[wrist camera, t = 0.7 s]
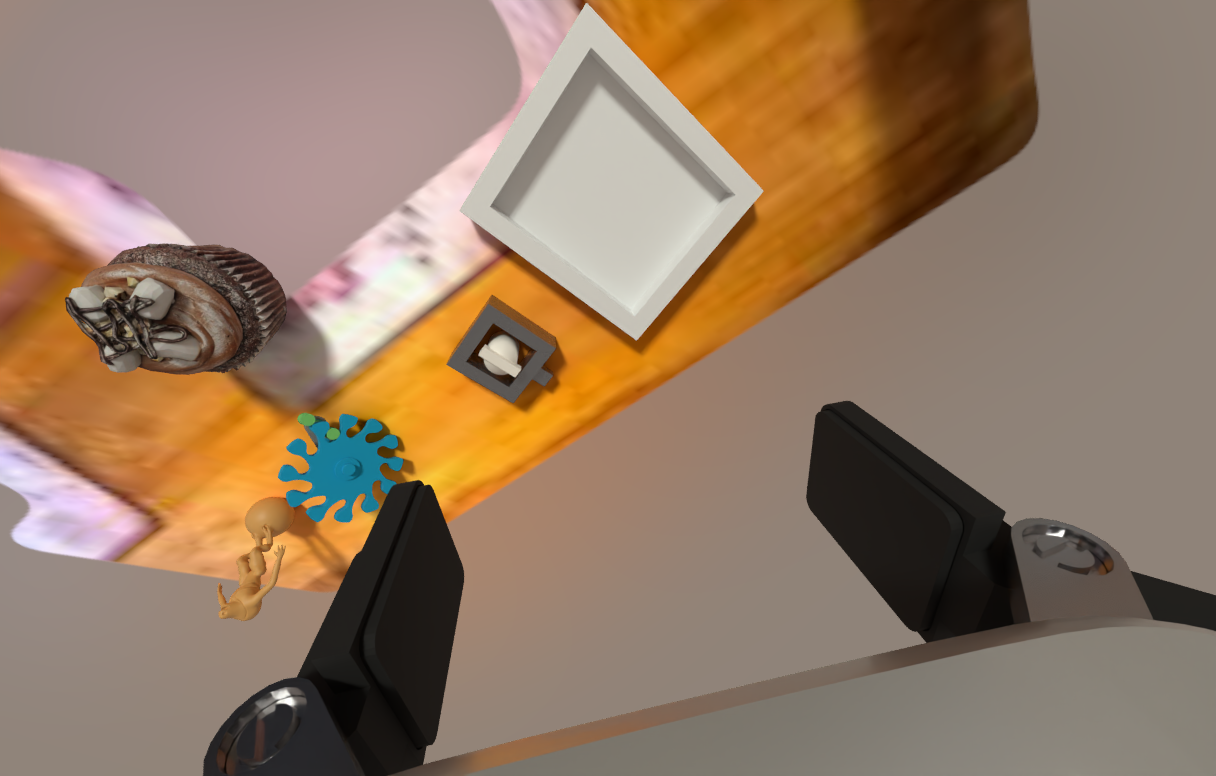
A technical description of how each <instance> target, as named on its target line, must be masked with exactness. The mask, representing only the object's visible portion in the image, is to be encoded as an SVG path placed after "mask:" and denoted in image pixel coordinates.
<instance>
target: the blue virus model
mask: <svg viewBox="0 0 1216 776" xmlns="http://www.w3.org/2000/svg"><path fill="white" fill-rule="evenodd" d="M357 421H358V418H357V417H355V416H352V415H347V414H342V415H341V416H340V418H339V422H340V428H339V430H338V429H336V428H333V427H329V423H328V422H326V420H325V419H324V418H322V417H319V416H313V415H311V414H308V413H302V414H300V415H299V416H298V422H299V423H300V424H303V425H304V428H305V430H306V431H307V433H308V434H309V436H310V438H311V439H312V441H313V442H314V444H315V445H316V447H317V448H318V450H317V452H316V453H315V454H313V455H308V454H307V452H306V449H307V445H306V443H305V442H304V441H303V440H301V439H296V440H294V441H292V442H291V443H290V444H289V445H288V446H287V447H286V448H287V450H288V451H289V452H290V453H292V454H295V455H299V456H301V457H303V458H304V459H305V460H306V461H307V463H308V464H309V470H308V471H307V472H306V473H303V474H300V473H298V472H297V470H296V469H295V468H294V467H292V466H291V465H283V466H282V467H281V469H280V472H279V475H278V478H279V479H280V480H281V481H284V482H288V481H292V480H305V481H308V482H311V483H312V489H311V490H310V491H308V492H301V491H298V490H290V491H288V492H287V493H286V499H287V502H288V504H289V505H290V506H291V507H296V506H299V505H300V504H301V503H303V502H304V501H305V500H307V499H309V498H312V497H316V496H326V501H325V502H324V503H323V504H321V505H316V506H312V507H310V508H309V509H307V511H306V514H307V515H308V516H309V517H310V518H311V519H312V520H314V521H316V522H319V521H321V520H322V519H323V518H324V516H325V513H326V512H327V510H328V509H329V508H330V507H331V506H332V505H333V504H335V503H336V502H338V501H339V500H342V499H345V501H346V503H345V505H344V507H342V508H341V509H339V510H338V511H337V512H336V513H335V515H334V519H335V520H337V521H339V522H350V521H351V520H352V517H353V515H352V506H353V504H354V502H355V500H356V498H357V497H358V496H359V495H360V494H362V493H365V495H366V497H365V499H364V501H363V502H362V505H361V508H362V510H363V511H364V512H366V513H368V512H372V511H374V510H376V509H378V508H379V504H378V502H377V501H376V500H375V499H374V497H373V494H372V485H373V483H374V482H375V481H377V480H380V482H381V486H380V488H381V490H382V491H383V492H384V493H386V494H388V493H389V491H390V489H391V487H392V486H393V485H395V484H397V483H396V482H394V481H392V480H389V479H386V478H385V477H384V476H383V475H382V473H381V472H380V466H381V465H382V464H383V463H387V465H388V466H389V468H390V469H393V470H395V471H399V470H400V469H401V467H402V464H403V459H402V458H399V457H392V458H384V457H381V456H379V455H378V454H377V449H378V448H379V447H380V446H385V447H387V448H390V449H394V448H396V447H397V446H398V441H397V438H396V436H395V435H387V436H385V437H384V438H383V439H381V440H379V441H377V442H369V443H367V442H366V441H365V437H366V435H367V434H369V433H377V432H379V431H381V430H382V428H383V427H382V425H381V424H380V423H379V422H378V421H377V420H375V419H369V420H368V421H367V422H366V424H365V426H364V428H363V429H362V430H361V431H360V432H359V433H358V434H356V435H354V436H352V437H347V435H346V431H347V430H348V429H349V428H351V427H353V426H354V425H355V424H356V423H357Z"/></svg>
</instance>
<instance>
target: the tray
mask: <svg viewBox="0 0 1216 776" xmlns="http://www.w3.org/2000/svg"><path fill="white" fill-rule="evenodd" d="M762 192H763V190H762V189H761V188H760V187H759V186H758V185H757V183H756V182H755V181H754V180H753V179H752V178H751V177H750V176H749V175H748V174H747V173H746V172H745V171H744V170H743V169H742V168H741V166H740V165H739V164H738V163H737V162H736V161H735V160H734V159H733V158H732V157H731V156H730V155H729V154H728V153H727V152H726V151H725V149H724V148H723V147H722V146H721V145H720V144H719V143H718V142H717V141H716V140H715V139H714V138H713V137H712V136H711V135H710V134H709V132H708V131H707V130H706V129H705V128H704V127H703V126H702V125H701V124H700V123H699V122H698V121H697V120H696V119H695V118H694V117H693V115H692V114H691V113H690V112H689V111H688V110H687V109H686V108H685V107H684V106H683V105H682V104H681V103H680V102H679V101H678V99H677V98H676V97H675V96H674V95H673V94H672V93H671V92H670V91H669V90H668V89H667V88H666V87H665V86H664V85H663V84H662V82H661V81H660V80H659V79H658V78H657V77H656V76H655V75H654V74H653V73H652V72H651V71H650V70H649V69H648V68H647V67H646V65H645V64H644V63H643V62H642V61H641V60H640V59H639V58H638V57H637V56H636V55H635V54H634V53H633V52H632V51H631V50H630V48H629V47H628V46H627V45H626V44H625V43H624V42H623V41H622V40H621V39H620V38H619V37H618V36H617V35H616V34H615V33H614V31H613V30H612V29H611V28H610V27H609V26H608V25H607V24H606V23H605V22H604V21H603V20H602V19H601V18H600V17H599V15H598V14H597V13H596V12H595V11H594V10H593V9H592V8H591V7H590V6H589V5H588V4H587V3H586V4H585V6H584V8H583V9H582V11H581V12H580V14H579V16H578V17H577V19H576V21H575V22H574V24H573V26H572V27H571V29H570V30H569V32H568V34H567V35H566V37H565V39H564V40H563V42H562V44H561V45H560V47H559V48H558V50H557V52H556V53H555V55H554V57H553V58H552V60H551V62H550V63H549V65H548V66H547V68H546V70H545V71H544V73H543V75H542V76H541V78H540V80H539V81H538V83H537V84H536V86H535V88H534V89H533V91H532V93H531V94H530V96H529V98H528V99H527V101H526V102H525V104H524V106H523V107H522V109H521V111H520V112H519V114H518V116H517V117H516V119H515V120H514V122H513V124H512V125H511V127H510V129H509V130H508V132H507V134H506V135H505V137H504V138H503V140H502V142H501V143H500V145H499V147H498V148H497V150H496V152H495V153H494V155H493V156H492V158H491V160H490V161H489V163H488V165H487V166H486V168H485V170H484V171H483V173H482V174H481V176H480V178H479V179H478V181H477V183H476V184H475V186H474V188H473V189H472V191H471V192H470V194H469V196H468V197H467V199H466V201H465V202H464V204H463V206H462V207H461V209H460V210H459V211H460V212H462V213H463V214H464V215H466V216H467V217H469V218H470V219H471V220H473V221H474V222H475V223H477V224H478V225H479V226H481V227H482V228H484V229H485V230H486V231H488V232H489V233H490V234H492V235H493V236H494V237H496V238H497V239H499V240H500V241H501V242H503V243H504V244H505V245H507V246H508V247H509V248H511V249H512V250H514V251H515V252H516V253H518V254H519V255H520V256H522V257H523V258H525V259H526V260H527V261H529V262H530V263H531V264H533V265H534V266H535V267H537V268H538V269H540V270H541V271H542V272H544V273H545V274H546V275H548V276H549V277H550V278H552V279H553V280H555V281H556V282H557V283H559V284H560V285H561V286H563V287H564V288H565V289H567V290H568V291H570V292H571V293H572V294H574V295H575V296H576V297H578V298H579V299H580V300H582V301H583V302H585V303H586V304H587V305H589V306H590V307H591V308H593V309H594V310H596V311H597V312H598V313H600V314H601V315H602V316H604V317H605V318H606V319H608V320H609V321H611V322H612V323H613V324H615V325H616V326H617V327H619V328H620V329H621V330H623V331H624V332H626V333H627V334H628V335H630V336H631V337H632V338H634V339H635V340H636V341H637V340H638V338H639V337H640V336H641V335H642V334H643V332H644V331H645V330H646V329H647V328H648V327H649V325H650V324H651V323H652V322H653V321H654V320H655V318H656V317H657V316H658V315H659V314H660V312H661V311H662V310H663V309H664V308H665V307H666V305H667V304H668V303H669V302H670V301H671V300H672V298H673V297H674V296H675V295H676V294H677V292H678V291H679V290H680V289H681V288H682V287H683V285H684V284H685V283H686V282H687V281H688V280H689V278H690V277H691V276H692V275H693V274H694V272H695V271H696V270H697V269H698V268H699V267H700V265H701V264H702V263H703V262H704V261H705V260H706V258H707V257H708V256H709V255H710V254H711V252H712V251H713V250H714V249H715V248H716V247H717V245H718V244H719V243H720V242H721V241H722V240H723V238H724V237H725V236H726V235H727V234H728V232H729V231H730V230H731V229H732V228H733V227H734V225H735V224H736V223H737V222H738V221H739V220H740V218H741V217H742V216H743V215H744V214H745V212H746V211H747V210H748V209H749V208H750V207H751V205H752V204H753V203H754V202H755V201H756V200H757V198H758V197H759V196H760V195H761V194H762Z"/></svg>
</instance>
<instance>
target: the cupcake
mask: <svg viewBox="0 0 1216 776" xmlns="http://www.w3.org/2000/svg"><path fill="white" fill-rule="evenodd" d="M65 301H66V309H67V312H68V313H69V314H70V315H71V317H72V318H73V319H74V321H75V322H76V323H77V325H78V326H79V327H80V329H81V330H82V331H83V333H85V334H86V335H87V336H88V337H90V338H91V339H92V340H93V341H94V342H95V343H96V345H97V346H98V347H99V355H100V359H101V362H103V363H105V364H107V365H108V367H109V369H110V370H111V371H115V372H129V371H133V370H135V369H136V368H137V367H140V368H144V369H147V370H150V371H157V372H164V373H170V374H186V375H189V374H195V373H200V372H204V371H206V372H222V373H225V372H228V371H229V370H231V369H232V368H234V369H236V370H238V369H239V368H240V366H241V365H243V366H246V365H247V363H248V362H249V363H250V362H252V360H253V359H254V357H255V356H256V355H257V354H258V353H260V351H261V350H262V349H263V348H264V346H265V345H266V344H267V342H268V341H269V340H270V339H271V338H272V337H273V335H274V334H275V333H276V332H277V330H278V329H279V328H280V326H281V324H282V323H283V321H284V320H285V315H286V312H287V310H286V298H285V294H284V291H283V289H282V287H281V285H280V284H279V282H278V280H276V279H275V278H274V277H273V275H272V273H271V272H270V271H269V270H268V269H267V268H266V267H265V266H264V265H263V264H262V263H260V262H258V261H257V260H256V259H254V258H253V257H252V256H250V255H249V254H246V253H242V252H239V251H237V250H236V249H234V248H225V247H223V246H221V245H204V246H184V245H178V244H148V245H146V246H141V247H139V246H138V247H137V248H133V249H129V250H125V251H122V252H121V253H120V254H118V255H117V256H116V257H115V258H114V259H113V260H112V261H111V262H110V263H109V264H108V265H107V266H104V267H101V268H98V269H95V270H93V271H92V272H91V273H89V274H88V275H87V277H86V278H85V280H84V282H83V283H82V286H81V287H79V288H73V289H72V291H71V293H70V295H69V297H65ZM81 320H82V321H83V322H84V323H83V322H82V321H81ZM85 323H86V324H85Z"/></svg>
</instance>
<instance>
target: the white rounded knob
mask: <svg viewBox="0 0 1216 776" xmlns="http://www.w3.org/2000/svg"><path fill="white" fill-rule="evenodd" d="M519 347H520V344H519V341H518V339H517V338H515V337H514V336H512V335H511V334H509V333H508V332H506V331H499V332H496V333H494V334H493V335H492V336H491V338H490V340H489V343H488V345H486V344H485V345H484V347H483V348H482V349H481V351H480V352H479V356H480V357H482V358H484V363H485V366H486V367H487V369H488V370H489V371H491V372H492V373H494V374H498V375H505V374H510V375H512V376H513V377H516V376H517V375H518V373H519V372H520V371H521V366H520V365H518V364H517V360H518V354H519Z"/></svg>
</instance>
